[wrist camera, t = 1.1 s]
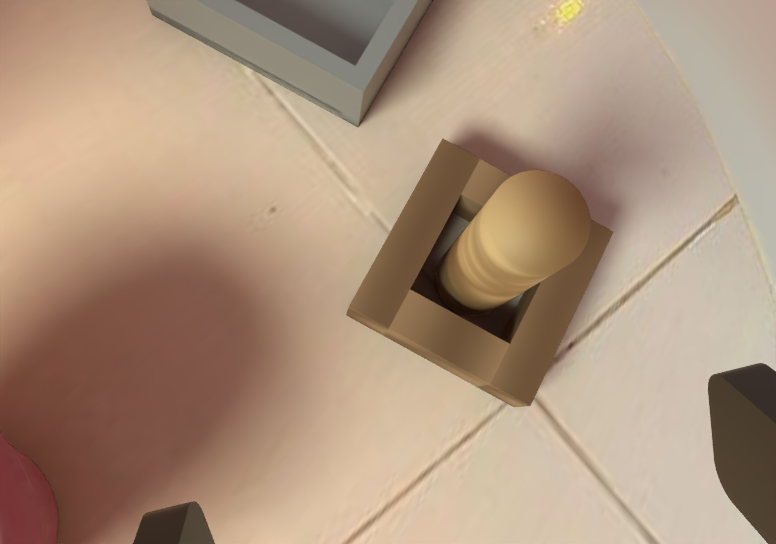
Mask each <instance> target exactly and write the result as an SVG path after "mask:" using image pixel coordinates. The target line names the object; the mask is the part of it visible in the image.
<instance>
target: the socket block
mask: <svg viewBox="0 0 776 544" xmlns="http://www.w3.org/2000/svg"><path fill="white" fill-rule="evenodd" d="M510 177H511V176H510V175H509V174H507V173H505V172H503V171H501V170H499V169H498V168H496V167H494V166H492V165H490V164H488V163H487V162H485V161H483V160H481V159H479V158H477V157H476V156H474V155H472V154H470V153H468V152H466V151H465V150H463V149H461V148H459V147H457V146H456V145H454V144H452V143H450V142H448V141H446V140H445V139H442V141H441V142H440V144H439V146H438V148H437V150H436V151H435V153H434V155H433V157H432V159H431V160H430V162H429V164H428V166H427V168H426V169H425V171H424V173H423V175H422V177H421V178H420V180H419V182H418V184H417V186H416V187H415V189H414V191H413V193H412V195H411V196H410V198H409V200H408V202H407V204H406V205H405V207H404V209H403V211H402V212H401V214H400V216H399V218H398V220H397V221H396V223H395V225H394V227H393V229H392V230H391V232H390V234H389V236H388V238H387V239H386V241H385V243H384V245H383V247H382V248H381V250H380V252H379V254H378V256H377V257H376V259H375V261H374V263H373V265H372V266H371V268H370V270H369V272H368V274H367V275H366V277H365V279H364V281H363V283H362V284H361V286H360V288H359V290H358V291H357V293H356V295H355V297H354V299H353V300H352V302H351V304H350V306H349V308H348V312H347V316H349V317H351V318H352V319H354V320H356V321H358V322H360V323H362V324H363V325H365V326H367V327H369V328H371V329H373V330H374V331H376V332H378V333H380V334H382V335H383V336H385V337H387V338H389V339H391V340H393V341H394V342H396V343H398V344H400V345H402V346H403V347H405V348H407V349H409V350H411V351H413V352H414V353H416V354H418V355H420V356H422V357H424V358H425V359H427V360H429V361H431V362H433V363H434V364H436V365H438V366H440V367H442V368H444V369H445V370H447V371H449V372H451V373H453V374H455V375H456V376H458V377H460V378H462V379H464V380H465V381H467V382H469V383H471V384H473V385H475V386H476V387H478V388H480V389H482V390H484V391H485V392H487V393H489V394H491V395H493V396H495V397H496V398H498V399H500V400H502V401H504V402H506V403H507V404H509V405H511V406H513V407H521V406H530V405H531V403H532V401H533V399H534V397H535V395H536V393H537V391H538V389H539V387H540V384H541V382H542V380H543V378H544V376H545V374H546V372H547V370H548V368H549V366H550V364H551V361H552V359H553V357H554V355H555V353H556V351H557V349H558V347H559V345H560V343H561V340H562V338H563V336H564V334H565V332H566V330H567V328H568V326H569V324H570V322H571V320H572V317H573V315H574V313H575V311H576V309H577V307H578V305H579V303H580V301H581V299H582V296H583V294H584V292H585V290H586V288H587V286H588V284H589V282H590V280H591V278H592V276H593V273H594V271H595V269H596V267H597V265H598V263H599V261H600V259H601V257H602V255H603V253H604V250H605V248H606V246H607V244H608V242H609V240H610V238H611V236H612V234H613V231H611V230H609V229H607V228H606V227H604V226H602V225H600V224H598V223H596V222H595V221H593V220H591V219H590V220H591V228H590V235H589V239H588V242H587V244H586V246H585V248H584V250H583V251H582V253H581V254H580V255H579V256H578V257H577V258H576V259H575V260H574V261H573V262H572V263H570V264H569V265H567V266H566V267H564V268H562V269H561V270H559V271H557V272H556V273H554V274H552V275H551V276H549V277H547V278H546V279H544V280H542V281H541V282H539V283H538V284H536V285H534V286H533V287H531V288H529V289H528V290H526V291H524V293H523V295H522V297H521V299H520V301H519V303H518V305H517V307H516V309H515V311H514V313H513V315H512V317H511V319H510V321H509V323H508V325H507V327H506V329H505V331H504V333H503V335H502V337H501V339H500V338H498V337H496V336H494V335H492V334H491V333H489V332H487V331H485V330H483V329H482V328H480V327H478V326H476V325H474V324H472V323H471V322H469V321H467V320H465V319H463V318H461V317H460V316H458V315H456V314H454V313H452V312H451V311H449V310H447V309H445V308H443V307H441V306H440V305H438V304H436V303H434V302H432V301H430V300H429V299H427V298H425V297H423V296H421V295H420V294H418V293H416V292H414V291H412V290H410V288H411V286H412V285H413V283H414V281H415V279H416V277H417V275H418V273H419V272H420V270H421V268H422V266H423V264H424V262H425V260H426V259H427V257H428V255H429V253H430V251H431V249H432V248H433V246H434V244H435V242H436V240H437V238H438V236H439V235H440V233H441V231H442V229H443V227H444V225H445V223H446V222H447V220H448V218H449V216H450V214H451V212H453V213H455V214H457V215H459V216H460V217H462V218H464V219H466V220H468V221H469V222H471V221H472V220H473V219H474V217H475V216H476V215H477V214H478V212H479V211H480V210H481V209H482V207H483V206H484V205H485V204H486V203H487V201H488V200H489V199H490V198H491V196H492V195H493V194H494V193H495V191H496V190H497V189H498V188H499V186H500V185H501V184H502V183H503V182H504V181H506V180H507V179H508V178H510Z"/></svg>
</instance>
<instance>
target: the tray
mask: <svg viewBox="0 0 776 544" xmlns="http://www.w3.org/2000/svg"><path fill="white" fill-rule="evenodd" d="M432 1H433V0H147V2H148V5H149V7H150V10H151V12H152V15H154V16H156V17H157V18H159V19H161V20H163V21H165V22H167V23H168V24H170V25H172V26H174V27H176V28H178V29H179V30H181V31H183V32H185V33H187V34H189V35H190V36H192V37H194V38H196V39H198V40H199V41H201V42H203V43H205V44H207V45H209V46H210V47H212V48H214V49H216V50H218V51H220V52H221V53H223V54H225V55H227V56H229V57H231V58H232V59H234V60H236V61H238V62H240V63H242V64H243V65H245V66H247V67H249V68H251V69H252V70H254V71H256V72H258V73H260V74H262V75H263V76H265V77H267V78H269V79H271V80H273V81H274V82H276V83H278V84H280V85H282V86H284V87H285V88H287V89H289V90H291V91H293V92H295V93H296V94H298V95H300V96H302V97H304V98H306V99H307V100H309V101H311V102H313V103H315V104H316V105H318V106H320V107H322V108H324V109H326V110H327V111H329V112H331V113H333V114H335V115H337V116H338V117H340V118H342V119H344V120H346V121H348V122H349V123H351V124H353V125H355V126H357V127H358V126H359V124H360V123H361V121H362V119H363V118H364V116H365V114H366V113H367V111H368V109H369V108H370V106H371V104H372V102H373V101H374V99H375V97H376V96H377V94H378V92H379V91H380V89H381V87H382V86H383V84H384V82H385V80H386V79H387V77H388V75H389V74H390V72H391V70H392V69H393V67H394V65H395V64H396V62H397V60H398V58H399V57H400V55H401V53H402V52H403V50H404V48H405V47H406V45H407V43H408V42H409V40H410V38H411V36H412V35H413V33H414V31H415V30H416V28H417V26H418V25H419V23H420V21H421V20H422V18H423V16H424V14H425V13H426V11H427V9H428V8H429V6H430V4H431V3H432Z"/></svg>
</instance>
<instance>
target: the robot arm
mask: <svg viewBox="0 0 776 544" xmlns="http://www.w3.org/2000/svg"><path fill="white" fill-rule="evenodd" d="M708 394H709V406H710V417H711V429H712V440H713V452H714V461H715V467H716V471H717V474H718V477H719V480H720V482H721V484H722V486H723V489H724V490H725V492H726V494H727V496H728V497H729V499H730V500H731V501H732V503H733V504H734V505H735V506H736V507H737V508H738V510H739V511H740V512H741V513H742V514H743V515H744V517H745V518H746V519H747V520H748V521H749V522H750V523H751V525H752V526H753V527H754V528H755V529H756V530H757V531H758V533H759V534H760V535H761V536H762V537H763V538H764V539H765V541H766V542H767V543H768V544H776V372H775V371H774V370H773V369H772V368H770V367H769V366H767V365H766V364H763V363H758V364H754V365H750V366H746V367H742V368H738V369H734V370H730V371H726V372H722V373H718V374H714V375H712V376H711V377H710V379H709V383H708ZM133 544H215V543H214V540H213V538H212V535H211V532H210V530H209V527H208V524H207V522H206V519H205V516H204V514H203V511H202V509H201V507H200V506H199V504H198V503H197V502H195V501H194V502H189V503H185V504H181V505H177V506H173V507H169V508H165V509H161V510H157V511H153V512H148V513H146V514H145V515H144V516H143V518H142V520H141V523H140V526H139V529H138V531H137V534H136V537H135V540H134V543H133Z"/></svg>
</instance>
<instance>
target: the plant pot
mask: <svg viewBox="0 0 776 544" xmlns="http://www.w3.org/2000/svg"><path fill="white" fill-rule="evenodd" d="M57 536H58V512H57V506H56V501H55V498H54V495H53V492H52V490H51V487H50V485H49V483H48V481H47V479H46V477H45V476H44V474H43V473H42V471H41V470H40V469H39V467H38V466H37V465H36V464H35V463H34V462H33V461H32V460H31V459H30V458H28V457H27V456H26V455H25V454H23V453H22V452H21V451H19V450H18V449H16V448H14V447H13V446H11V445H9V444H8V442H7V441H6V440H5V438H4V437H3V436H2V435H1V434H0V544H57Z"/></svg>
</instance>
